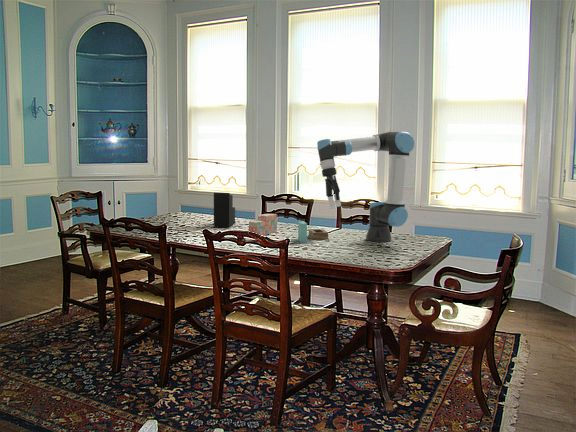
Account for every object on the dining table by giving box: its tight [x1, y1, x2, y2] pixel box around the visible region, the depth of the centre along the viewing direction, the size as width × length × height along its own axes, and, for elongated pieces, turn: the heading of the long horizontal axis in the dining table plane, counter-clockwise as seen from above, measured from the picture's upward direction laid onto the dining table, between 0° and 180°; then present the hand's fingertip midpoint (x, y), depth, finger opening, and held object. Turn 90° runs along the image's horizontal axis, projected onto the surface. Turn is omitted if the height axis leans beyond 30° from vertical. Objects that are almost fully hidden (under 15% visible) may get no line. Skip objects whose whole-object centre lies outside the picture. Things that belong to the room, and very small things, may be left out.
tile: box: [297, 221, 308, 243], centre depth 341 cm, size 8×4×11 cm, turn 10°
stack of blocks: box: [248, 213, 278, 237], centre depth 364 cm, size 21×6×12 cm, turn 146°
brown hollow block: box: [307, 228, 330, 241], centre depth 354 cm, size 13×10×4 cm
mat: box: [289, 238, 316, 245], centre depth 342 cm, size 16×12×1 cm
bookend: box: [213, 192, 237, 229], centre depth 397 cm, size 23×11×24 cm, turn 174°
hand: (335, 207), depth 312 cm, fingers open, 13 cm apart
